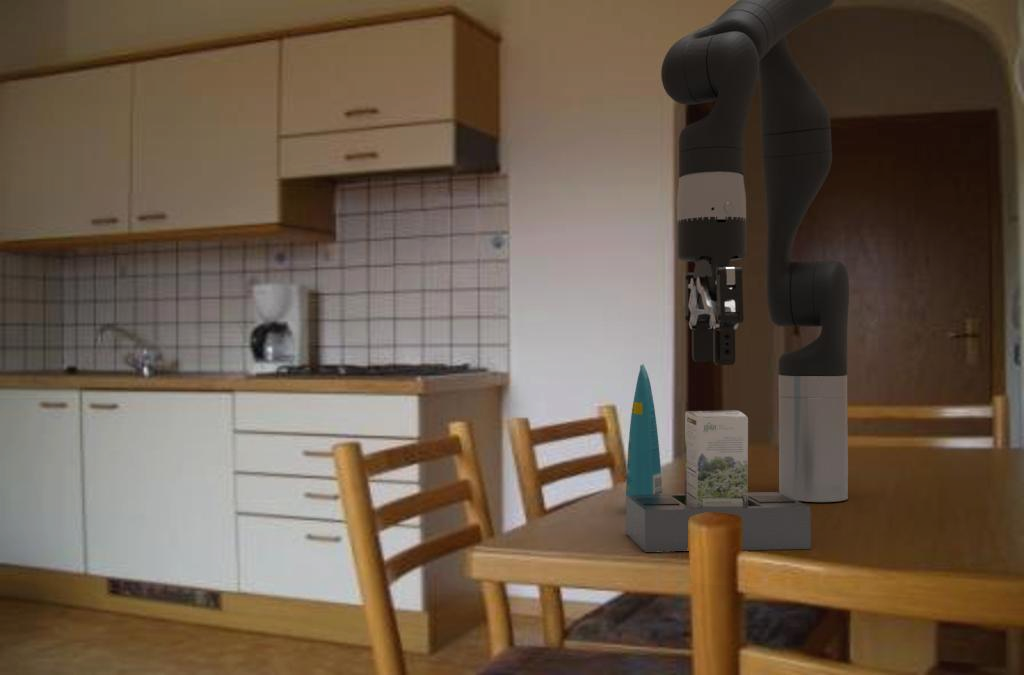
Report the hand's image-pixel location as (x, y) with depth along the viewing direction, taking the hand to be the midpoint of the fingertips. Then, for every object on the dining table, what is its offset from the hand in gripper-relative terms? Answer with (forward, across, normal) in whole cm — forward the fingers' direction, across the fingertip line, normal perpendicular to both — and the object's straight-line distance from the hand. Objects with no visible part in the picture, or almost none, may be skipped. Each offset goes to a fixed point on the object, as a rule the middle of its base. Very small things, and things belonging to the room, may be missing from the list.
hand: (712, 363), depth 108 cm
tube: (+20, -18, -4) cm, 28 cm away
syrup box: (+20, 0, 0) cm, 20 cm away
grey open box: (+20, 0, 0) cm, 20 cm away
